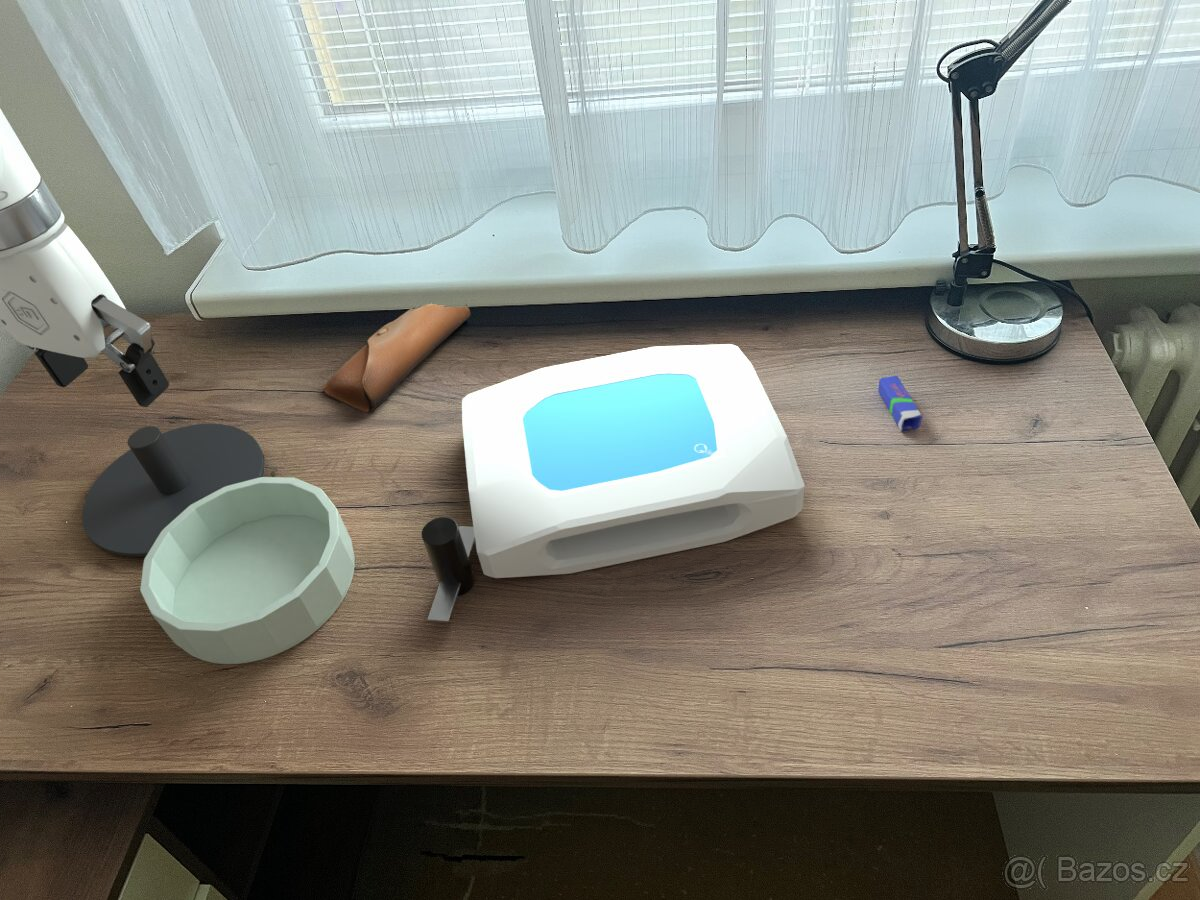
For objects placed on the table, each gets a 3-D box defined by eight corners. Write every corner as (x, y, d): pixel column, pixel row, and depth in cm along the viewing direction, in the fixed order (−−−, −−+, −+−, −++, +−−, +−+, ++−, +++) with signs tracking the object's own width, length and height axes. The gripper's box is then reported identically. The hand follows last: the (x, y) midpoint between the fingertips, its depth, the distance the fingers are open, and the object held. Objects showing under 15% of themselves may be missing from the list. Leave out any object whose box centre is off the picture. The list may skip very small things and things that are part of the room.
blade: (459, 632, 72) (440, 581, 67) (425, 630, 73) (403, 579, 68) (488, 538, 79) (472, 486, 74) (456, 537, 80) (438, 485, 75)
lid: (115, 593, 79) (72, 539, 74) (67, 488, 90) (26, 435, 84) (294, 494, 86) (266, 438, 80) (230, 408, 96) (201, 353, 91)
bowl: (205, 702, 70) (178, 668, 66) (143, 578, 80) (116, 543, 76) (387, 588, 76) (371, 552, 73) (308, 486, 86) (291, 450, 83)
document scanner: (470, 429, 90) (458, 382, 86) (735, 377, 91) (735, 329, 87) (488, 591, 75) (473, 545, 71) (803, 526, 76) (808, 478, 72)
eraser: (899, 433, 83) (902, 417, 82) (876, 393, 88) (879, 377, 86) (919, 430, 83) (922, 414, 82) (896, 389, 88) (898, 374, 86)
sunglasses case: (416, 302, 106) (427, 267, 101) (462, 337, 106) (476, 304, 101) (316, 392, 96) (322, 359, 90) (368, 431, 96) (377, 400, 91)
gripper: (-117, 229, 66) (13, 396, 79) (46, 257, 61) (158, 433, 73) (-35, 180, 71) (75, 345, 83) (123, 203, 66) (216, 376, 78)
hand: (114, 386), depth 78 cm, fingers open, 9 cm apart
